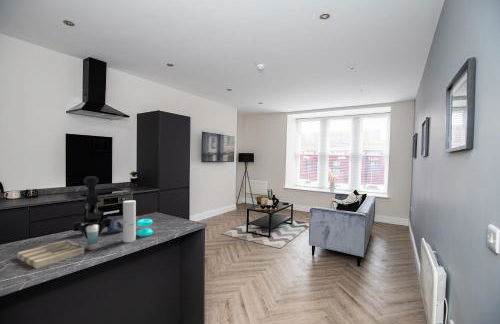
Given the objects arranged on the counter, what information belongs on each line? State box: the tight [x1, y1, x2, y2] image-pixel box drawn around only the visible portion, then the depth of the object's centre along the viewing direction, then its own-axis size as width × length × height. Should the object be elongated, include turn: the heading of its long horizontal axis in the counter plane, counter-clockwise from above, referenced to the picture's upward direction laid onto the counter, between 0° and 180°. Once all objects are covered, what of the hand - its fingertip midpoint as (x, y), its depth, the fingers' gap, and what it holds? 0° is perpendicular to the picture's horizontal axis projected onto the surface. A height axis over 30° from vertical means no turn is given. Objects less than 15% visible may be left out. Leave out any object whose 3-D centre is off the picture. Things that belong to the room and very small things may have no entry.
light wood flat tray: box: [16, 240, 85, 269], centre depth 129 cm, size 22×21×3 cm
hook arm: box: [64, 238, 81, 247], centre depth 137 cm, size 14×2×2 cm, turn 61°
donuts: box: [136, 218, 154, 238], centre depth 164 cm, size 10×10×10 cm
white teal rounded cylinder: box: [86, 225, 99, 251], centre depth 139 cm, size 6×6×13 cm
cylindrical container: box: [122, 199, 137, 243], centre depth 153 cm, size 7×7×25 cm
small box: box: [106, 215, 123, 235], centre depth 170 cm, size 11×6×10 cm, turn 117°
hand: (92, 237), depth 138 cm, fingers closed on white teal rounded cylinder, 6 cm apart
